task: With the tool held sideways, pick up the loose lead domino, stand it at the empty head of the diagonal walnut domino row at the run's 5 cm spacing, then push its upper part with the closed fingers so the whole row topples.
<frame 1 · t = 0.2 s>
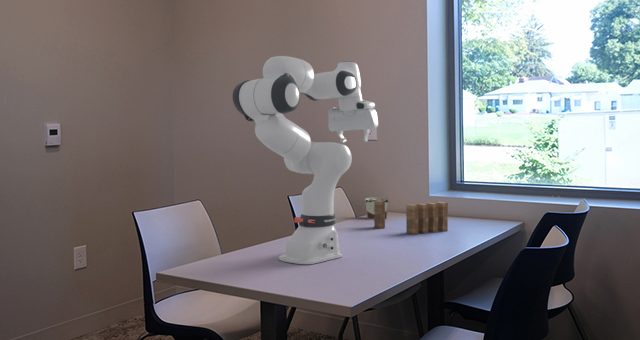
hand: (354, 142, 201), 39 cm above the table, tool pointing down, fingers open, 8 cm apart
domino 4: (432, 231, 225), on the table
domino 5: (441, 230, 227), on the table
lead domino: (379, 227, 236), on the table
domino 3: (422, 232, 223), on the table
food container: (376, 218, 263), on the table
domino 2: (412, 233, 221), on the table
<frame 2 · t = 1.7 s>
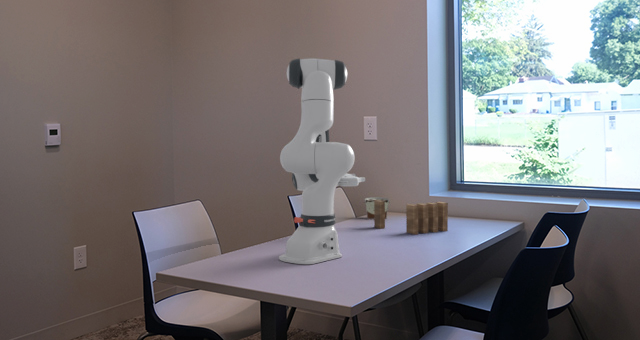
hand: (360, 177, 228), 23 cm above the table, tool horizontal, fingers open, 8 cm apart
nothing on the table moved.
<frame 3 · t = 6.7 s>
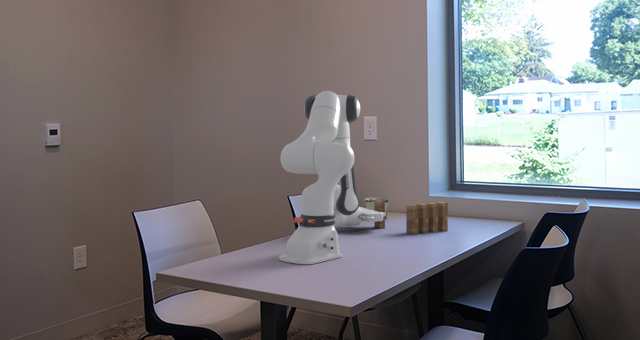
hand: (381, 213, 236), 7 cm above the table, tool horizontal, fingers closed on lead domino, 5 cm apart
lead domino: (379, 227, 236), on the table, touching gripper
everything else where it was.
when the fingers open (7 cm above the table, at t = 13.6 s): lead domino stays where it is, on the table.
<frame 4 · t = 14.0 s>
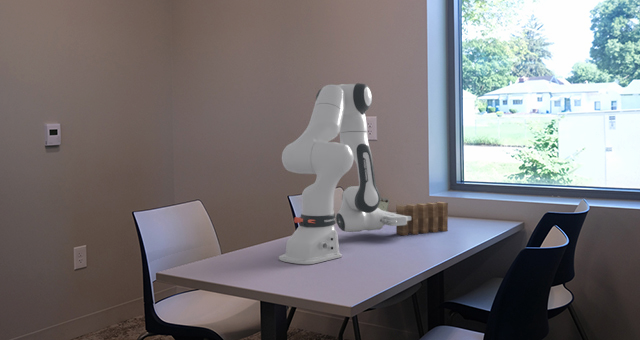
hand: (403, 216, 219), 7 cm above the table, tool horizontal, fingers open, 8 cm apart
lead domino: (402, 234, 219), on the table
everything else where it was.
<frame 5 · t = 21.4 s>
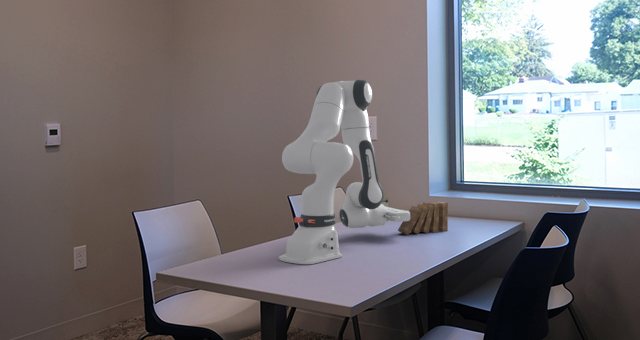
hand: (406, 212, 220), 9 cm above the table, tool horizontal, fingers closed
lead domino: (402, 232, 219), point 1 cm above the table, tilted 36°
domino 3: (422, 231, 223), on the table, tilted 15°
domino 2: (412, 232, 221), point 1 cm above the table, tilted 27°
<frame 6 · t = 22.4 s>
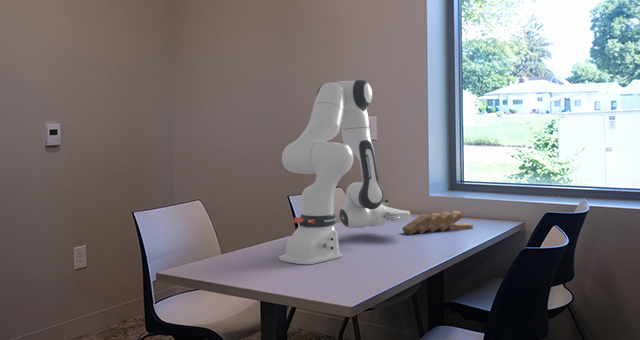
hand: (406, 212, 220), 9 cm above the table, tool horizontal, fingers closed
domino 4: (438, 228, 226), point 1 cm above the table, tilted 62°, touching domino 3
domino 5: (446, 228, 228), point 1 cm above the table, tilted 90°
lead domino: (406, 231, 220), point 1 cm above the table, tilted 63°, touching domino 2
domino 3: (427, 229, 225), point 1 cm above the table, tilted 62°, touching domino 2, domino 4
domino 2: (417, 230, 222), point 1 cm above the table, tilted 63°, touching domino 3, lead domino
everything else where it was.
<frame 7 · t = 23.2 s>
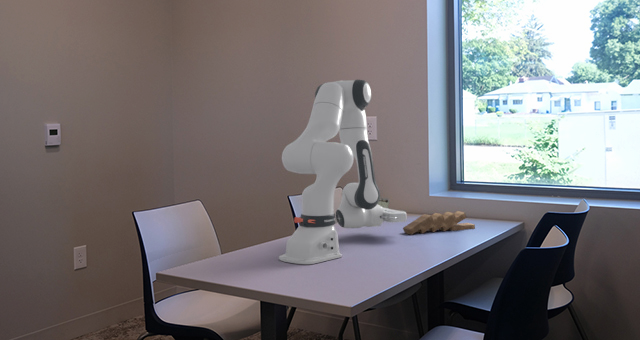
hand: (403, 213, 219), 9 cm above the table, tool horizontal, fingers closed
domino 4: (440, 227, 227), point 1 cm above the table, tilted 64°, touching domino 3
domino 5: (448, 228, 228), point 1 cm above the table, tilted 90°
domino 3: (429, 228, 225), point 1 cm above the table, tilted 64°, touching domino 2, domino 4
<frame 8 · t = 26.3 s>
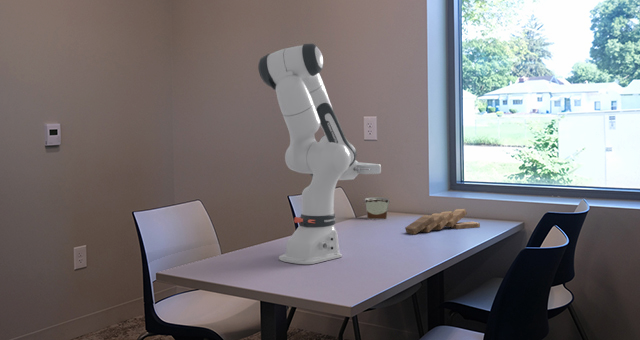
hand: (378, 167, 213), 28 cm above the table, tool horizontal, fingers closed
domino 4: (446, 224, 231), point 2 cm above the table, tilted 68°, touching domino 3, domino 5
domino 5: (453, 226, 232), point 1 cm above the table, tilted 90°, touching domino 4
lead domino: (409, 231, 220), point 1 cm above the table, tilted 68°
domino 3: (435, 226, 227), point 2 cm above the table, tilted 69°, touching domino 2, domino 4
domino 2: (422, 229, 223), point 1 cm above the table, tilted 68°, touching domino 3
everything else where it was.
at the end: domino 5 tilted 90°; lead domino inside the target area (3.3 cm from its centre), point 1.1 cm above the table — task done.
